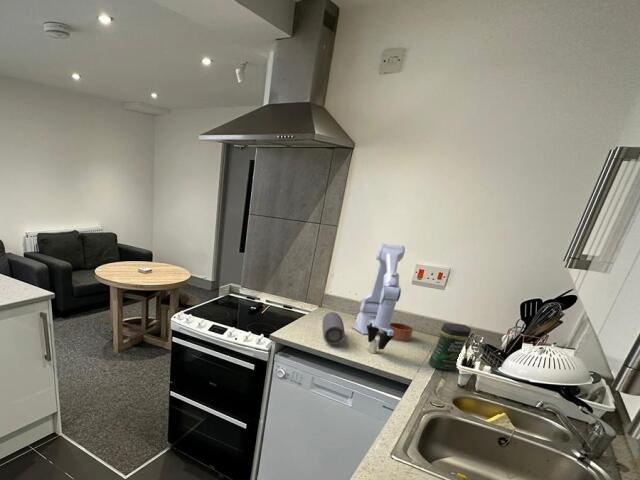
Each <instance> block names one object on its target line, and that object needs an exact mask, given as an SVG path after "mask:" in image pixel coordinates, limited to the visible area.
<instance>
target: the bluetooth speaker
mask: <svg viewBox="0 0 640 480" xmlns="http://www.w3.org/2000/svg"><path fill="white" fill-rule="evenodd" d="M321 327H322V334H323V337H324V340H325V341H326V342H327V343H328V344H329V345H338V344H341V343H342V342H343V341H344V340H345V335H346V331H345V325H344V322H343V319H342V317H341V316H340V314H339V313H337V312H335V311H331V312H328V313H326V314H325V315H324V316H323V317H322V325H321Z"/></svg>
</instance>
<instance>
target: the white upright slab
mask: <svg viewBox="0 0 640 480" xmlns="http://www.w3.org/2000/svg"><path fill="white" fill-rule="evenodd" d="M379 341H380V336H379V337H378V338H377V339H375V340H374V339H373V341H372V340H371V342H369V346H368V351H369V352H370V353H371V354H377V351H378V346H379Z"/></svg>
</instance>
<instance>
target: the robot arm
mask: <svg viewBox="0 0 640 480" xmlns="http://www.w3.org/2000/svg"><path fill="white" fill-rule="evenodd" d="M405 251H406V247H405V245H397V244H387V243H383V242H382V243H381V244H379V246H378V249H377V253H376V260H377V261H378V262H379V263H378V267H377V272H376V275H375V279H374V281H373V285H372V289H371V292H370V293H369V294H367V295H365V296H363V298H362V301H361V303H360V306H359V307H360V308H359V311H360V312H359V313H358V314H357V315H356V320H355V324H354V326H352V329H355V330H356V331H358V332H359V333H360V334H361V335H367V342H368V343H370V342H371V340H372V341H373V339H374V340H376V337H377V335H378V336H379V337H380V341H379V346H378V348H377V350H384V349H385V347H386V346H387V345H388V343H389V342H390V341H391V340H393V339H392V338H393V337H394V335H393V334H394V331H393V330H392V329H391V328H390V327H389V325H390V323H391V321H392V318H393V314H394V312H395V307H396V304H397V303H398V302H399V300H400V299H401V294H402V288H401V285H400V274H399V273H398V272H397V270H398V264H399V262H401V261H402V260H403V258H404V256H405ZM379 331H381V332H379Z"/></svg>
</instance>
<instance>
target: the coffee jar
mask: <svg viewBox="0 0 640 480" xmlns="http://www.w3.org/2000/svg"><path fill="white" fill-rule="evenodd" d="M471 331H472V330H471V327H469V326H467V325H466V324H461V323H459V324H458V323H451V322H448V323H447V322H445V323H443V325H442V327H441V328H440V331H439V337H438V341H437V342H436V345H435V347H434V349H433V351H432V353H431V355H430V357H429V360H428V364H429V365H430V367H433V368H435V369H437V370H441V371H449V372H450V371H451V372H455V371H456V370H457V368H456V362H457V359H458V357H459V354H460V353H461V354H462V351H463V347H464V345H465V343H466V342H467V341H468V340H469V338H470V335H471ZM461 354H460V355H461Z"/></svg>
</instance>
